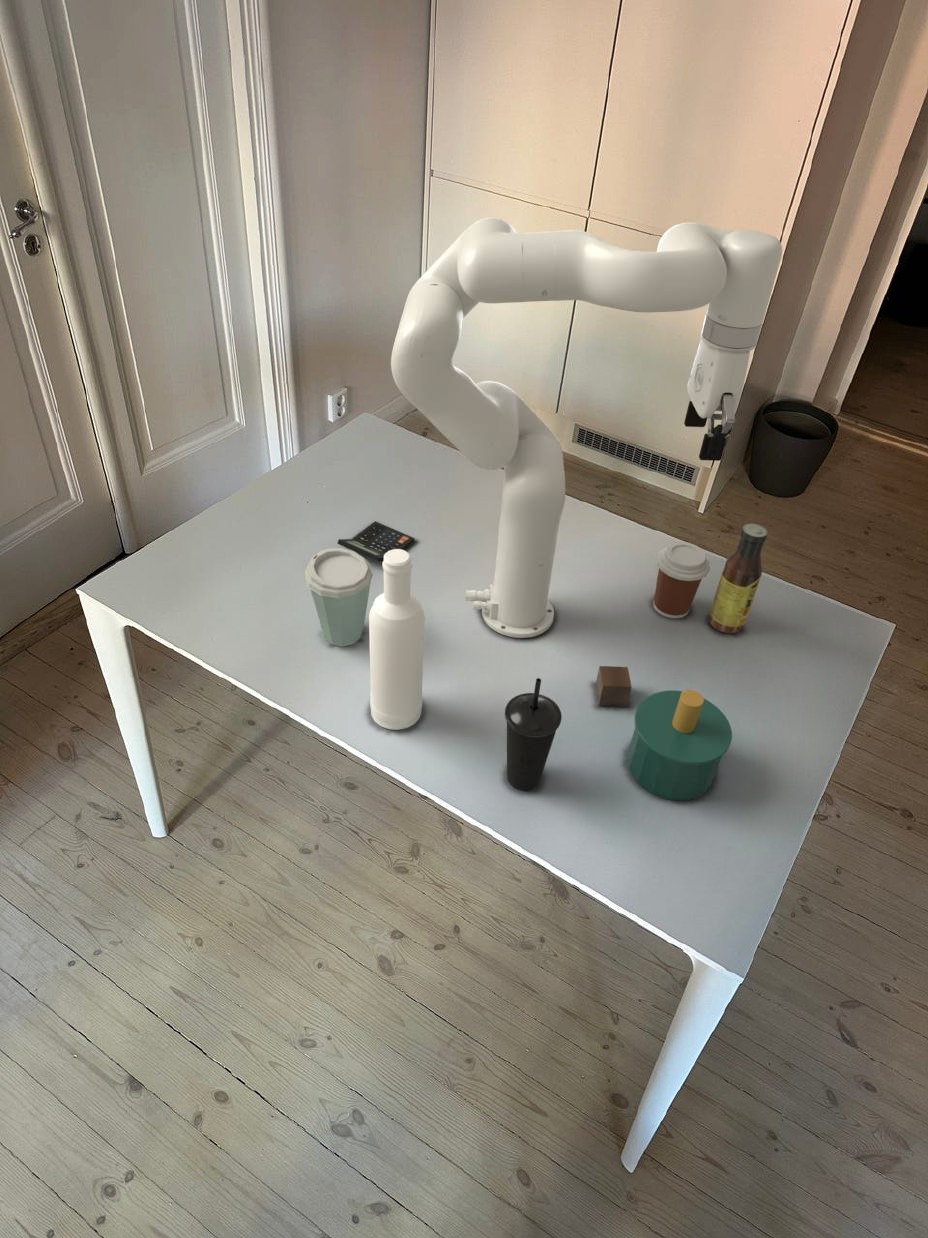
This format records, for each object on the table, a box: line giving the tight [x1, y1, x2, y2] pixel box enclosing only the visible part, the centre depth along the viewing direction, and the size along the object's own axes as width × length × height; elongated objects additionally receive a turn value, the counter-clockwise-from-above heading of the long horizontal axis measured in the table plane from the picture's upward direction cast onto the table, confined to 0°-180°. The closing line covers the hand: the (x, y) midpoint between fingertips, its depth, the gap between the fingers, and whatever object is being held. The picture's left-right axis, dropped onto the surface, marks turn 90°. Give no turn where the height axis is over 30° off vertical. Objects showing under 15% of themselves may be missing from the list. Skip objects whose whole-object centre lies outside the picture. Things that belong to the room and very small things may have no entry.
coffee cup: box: [652, 541, 711, 619], centre depth 154 cm, size 9×9×12 cm
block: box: [594, 665, 632, 708], centre depth 139 cm, size 4×4×4 cm
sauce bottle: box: [708, 523, 769, 635], centre depth 149 cm, size 7×6×20 cm
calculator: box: [337, 521, 415, 563], centre depth 165 cm, size 9×12×3 cm
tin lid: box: [634, 689, 733, 765], centre depth 122 cm, size 14×14×7 cm
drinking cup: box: [504, 677, 563, 792], centre depth 120 cm, size 8×8×20 cm
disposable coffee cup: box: [304, 547, 373, 647], centre depth 142 cm, size 11×11×15 cm
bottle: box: [368, 549, 426, 731], centre depth 125 cm, size 8×8×30 cm
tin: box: [626, 726, 723, 802], centre depth 127 cm, size 13×13×8 cm
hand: (701, 442), depth 130 cm, fingers open, 9 cm apart
